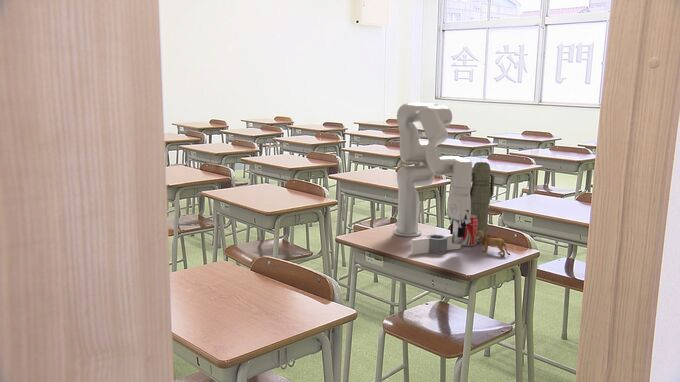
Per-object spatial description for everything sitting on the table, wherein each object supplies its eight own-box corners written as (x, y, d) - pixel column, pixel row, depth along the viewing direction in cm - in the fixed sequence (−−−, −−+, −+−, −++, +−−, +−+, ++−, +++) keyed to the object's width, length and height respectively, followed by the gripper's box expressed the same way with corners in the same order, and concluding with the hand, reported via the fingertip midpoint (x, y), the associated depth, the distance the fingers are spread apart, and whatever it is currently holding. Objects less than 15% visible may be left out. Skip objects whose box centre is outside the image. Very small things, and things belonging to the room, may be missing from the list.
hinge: (406, 251, 233) (406, 237, 232) (454, 245, 244) (454, 232, 242) (417, 256, 226) (417, 242, 225) (465, 250, 236) (466, 236, 235)
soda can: (475, 243, 248) (477, 214, 246) (477, 247, 241) (479, 217, 239) (458, 242, 249) (460, 213, 247) (460, 246, 242) (462, 217, 240)
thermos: (494, 242, 249) (499, 163, 243) (471, 244, 246) (475, 164, 240) (483, 238, 258) (488, 161, 252) (460, 239, 254) (464, 161, 248)
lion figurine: (472, 252, 234) (473, 231, 232) (476, 249, 238) (477, 228, 237) (508, 257, 227) (510, 235, 225) (511, 254, 231) (513, 233, 230)
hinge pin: (449, 242, 229) (451, 218, 227) (457, 241, 231) (459, 217, 229) (455, 244, 226) (457, 220, 224) (463, 243, 228) (465, 219, 226)
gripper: (440, 187, 230) (437, 231, 234) (466, 195, 215) (462, 242, 219) (455, 186, 233) (452, 229, 237) (481, 194, 218) (478, 240, 222)
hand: (457, 234), depth 228 cm, fingers closed on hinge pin, 4 cm apart
